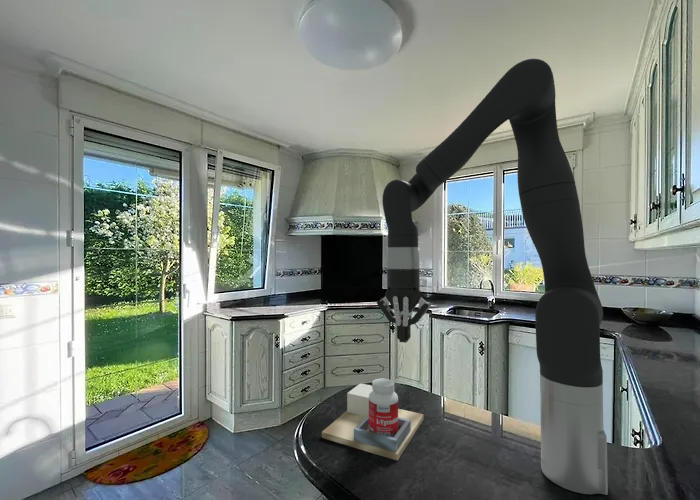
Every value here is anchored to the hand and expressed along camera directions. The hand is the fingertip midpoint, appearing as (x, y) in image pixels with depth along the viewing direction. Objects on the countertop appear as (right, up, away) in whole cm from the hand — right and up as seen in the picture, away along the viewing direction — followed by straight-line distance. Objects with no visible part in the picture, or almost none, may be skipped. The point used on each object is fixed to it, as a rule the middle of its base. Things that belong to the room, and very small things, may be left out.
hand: (403, 341), depth 77 cm
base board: (-7, -19, -2) cm, 20 cm away
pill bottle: (-6, -18, -8) cm, 20 cm away
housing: (-8, -18, +4) cm, 20 cm away
